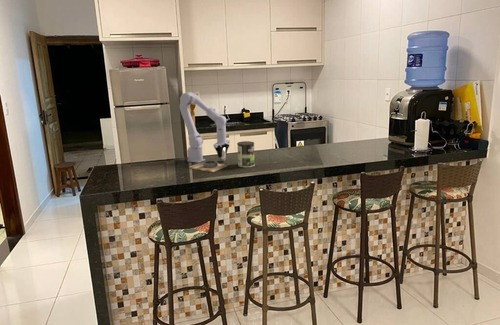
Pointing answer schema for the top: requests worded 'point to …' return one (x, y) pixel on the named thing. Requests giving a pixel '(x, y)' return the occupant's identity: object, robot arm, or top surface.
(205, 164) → the steel ring
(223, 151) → the aluminium piston
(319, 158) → the top surface
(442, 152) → the top surface
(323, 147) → the top surface
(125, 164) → the top surface
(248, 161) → the coffee can
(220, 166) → the birch board
